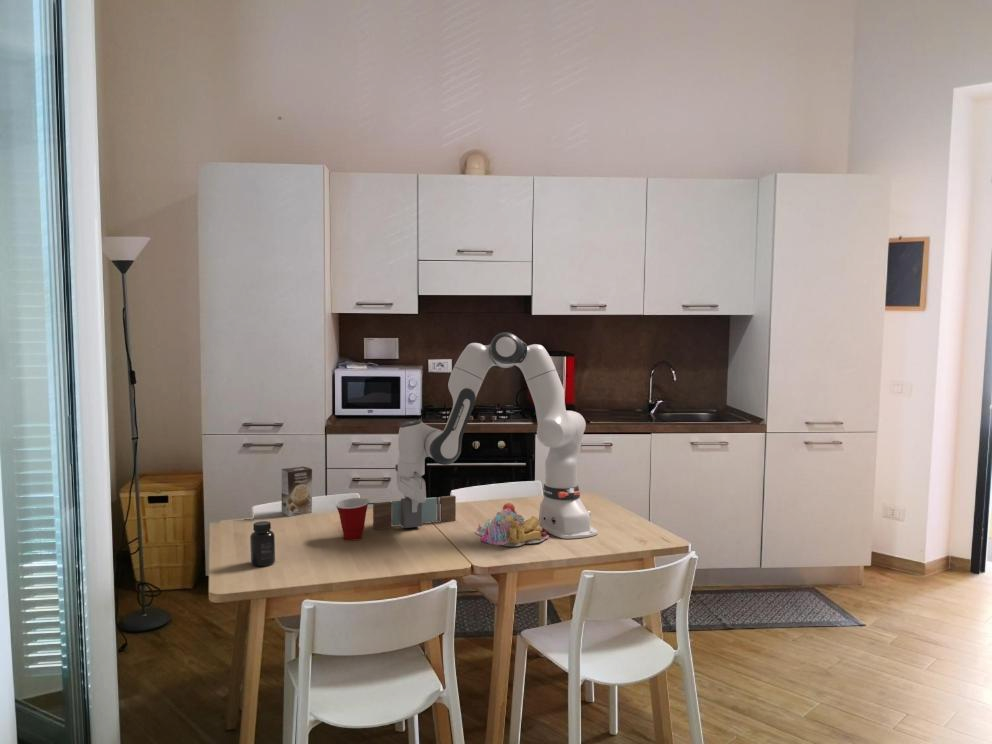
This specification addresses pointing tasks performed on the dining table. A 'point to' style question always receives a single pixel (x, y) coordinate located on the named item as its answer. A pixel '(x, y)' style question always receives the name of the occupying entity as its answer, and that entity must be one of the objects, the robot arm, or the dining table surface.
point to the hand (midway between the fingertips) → (411, 509)
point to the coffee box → (296, 491)
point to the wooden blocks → (384, 512)
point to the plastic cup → (352, 517)
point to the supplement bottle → (262, 544)
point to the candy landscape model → (511, 529)
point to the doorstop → (410, 514)
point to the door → (428, 511)
